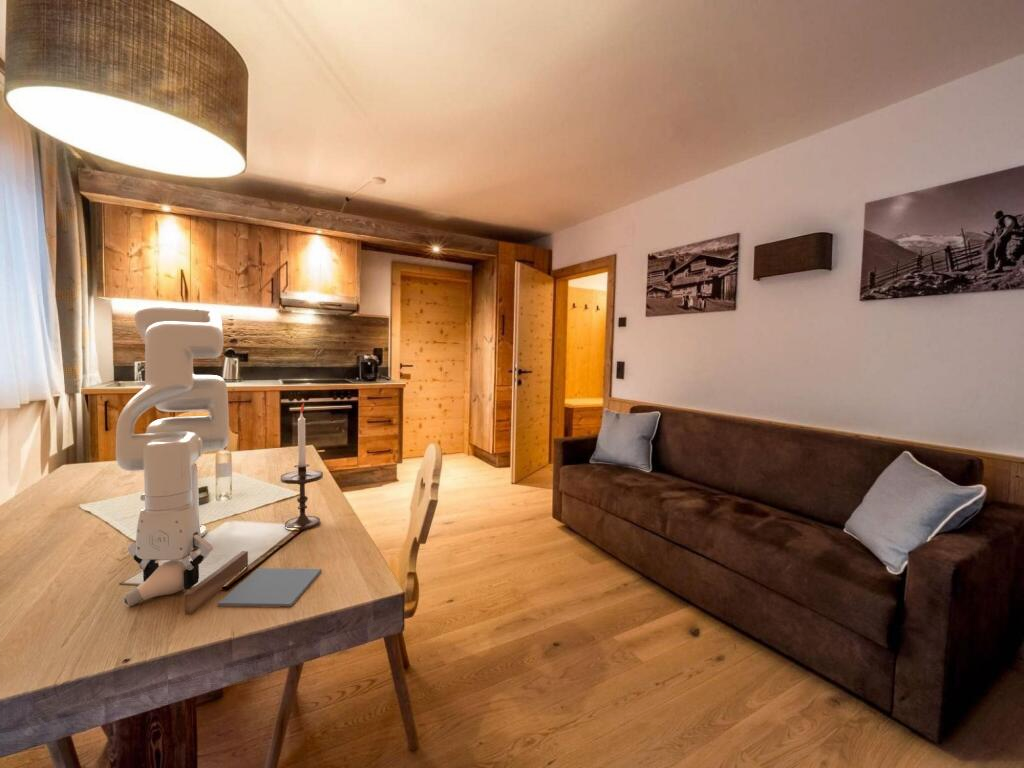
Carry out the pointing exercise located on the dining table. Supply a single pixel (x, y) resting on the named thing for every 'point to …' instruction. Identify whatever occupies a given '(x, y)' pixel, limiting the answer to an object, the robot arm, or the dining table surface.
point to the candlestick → (302, 481)
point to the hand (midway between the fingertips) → (171, 585)
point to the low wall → (214, 583)
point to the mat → (271, 587)
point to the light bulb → (159, 583)
